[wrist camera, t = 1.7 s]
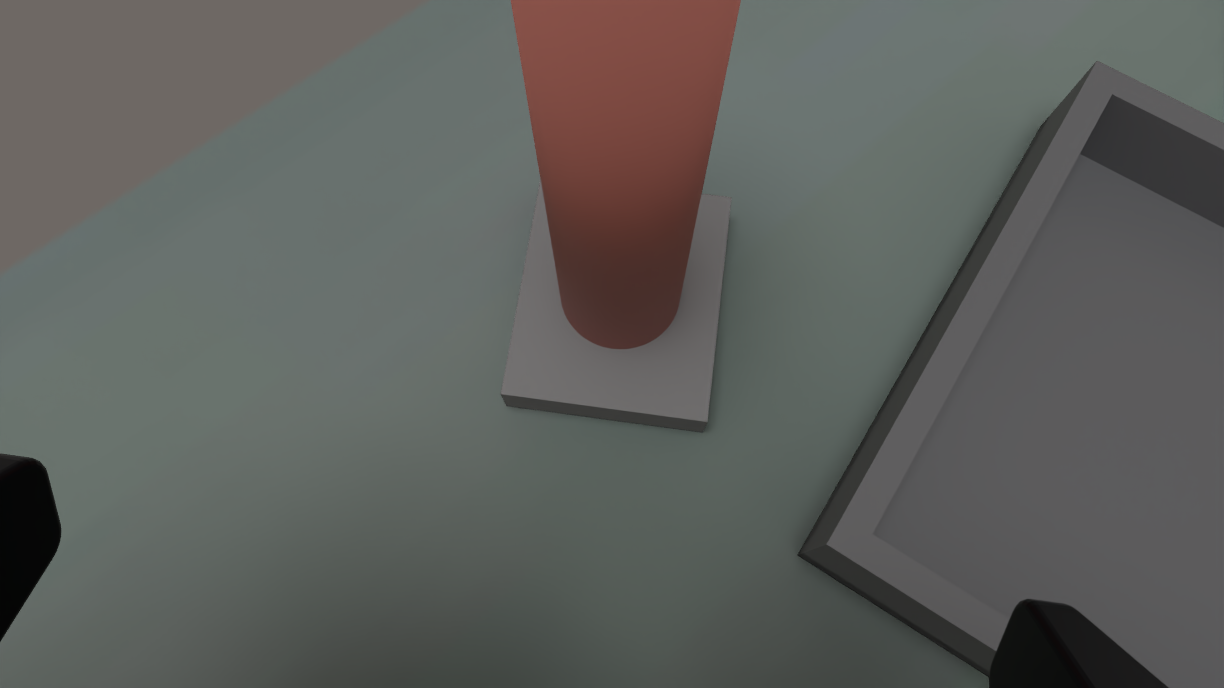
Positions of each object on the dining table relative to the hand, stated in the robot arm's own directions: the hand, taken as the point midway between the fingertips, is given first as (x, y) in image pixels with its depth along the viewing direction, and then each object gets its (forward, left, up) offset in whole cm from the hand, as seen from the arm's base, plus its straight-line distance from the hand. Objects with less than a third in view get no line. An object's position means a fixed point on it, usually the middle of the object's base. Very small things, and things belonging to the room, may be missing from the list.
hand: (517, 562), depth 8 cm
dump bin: (-11, -11, -13) cm, 20 cm away
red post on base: (+3, -7, -13) cm, 15 cm away
